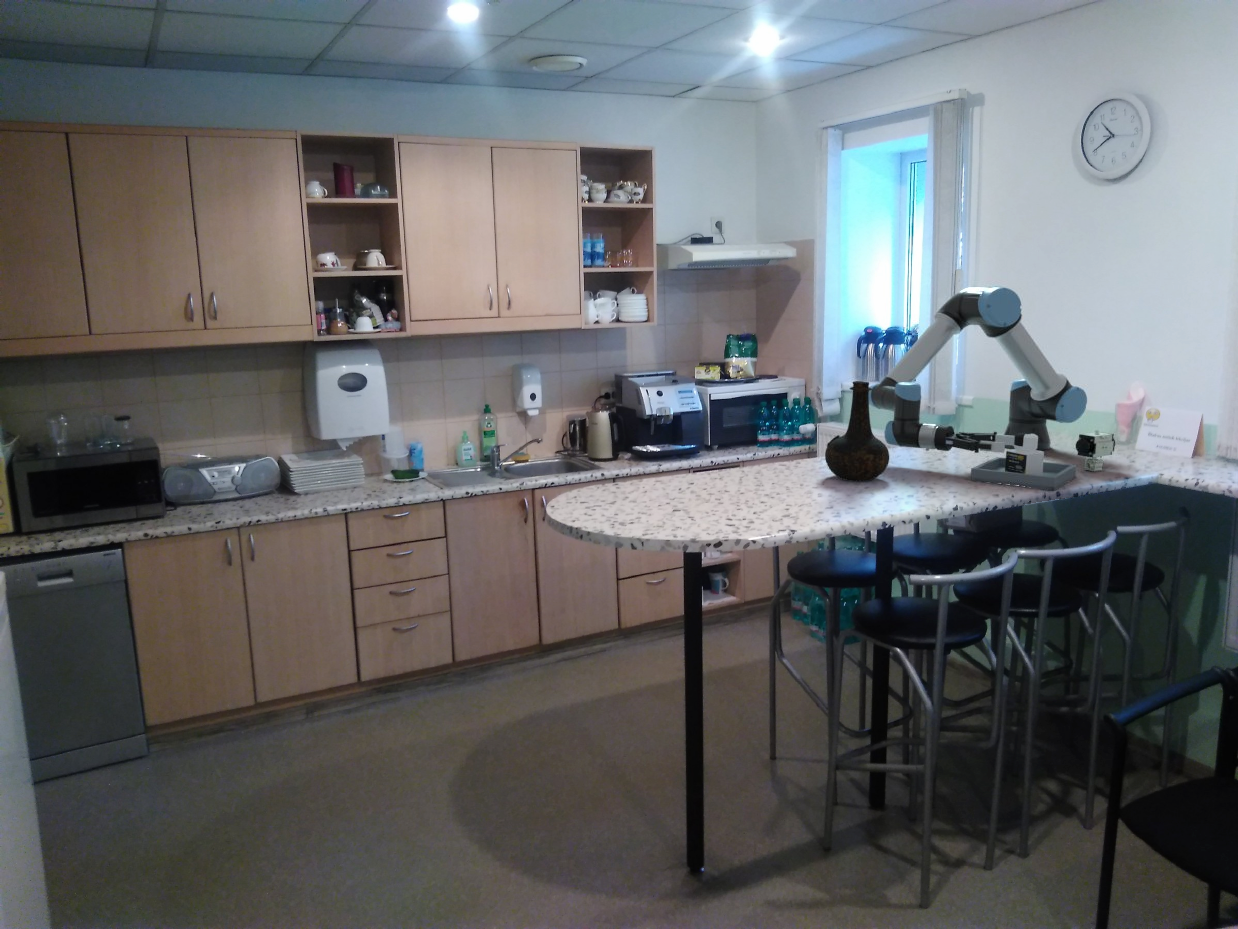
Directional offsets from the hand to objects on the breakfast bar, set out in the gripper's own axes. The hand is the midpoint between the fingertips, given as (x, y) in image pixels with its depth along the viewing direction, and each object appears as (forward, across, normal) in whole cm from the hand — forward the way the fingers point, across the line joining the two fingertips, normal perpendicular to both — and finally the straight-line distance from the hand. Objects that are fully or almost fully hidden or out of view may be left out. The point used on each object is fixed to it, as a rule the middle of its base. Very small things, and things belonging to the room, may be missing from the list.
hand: (1011, 444), depth 259 cm
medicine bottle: (+4, 0, -9) cm, 10 cm away
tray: (+4, 0, -10) cm, 10 cm away
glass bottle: (-34, +26, -10) cm, 45 cm away
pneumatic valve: (+17, -24, -10) cm, 31 cm away
